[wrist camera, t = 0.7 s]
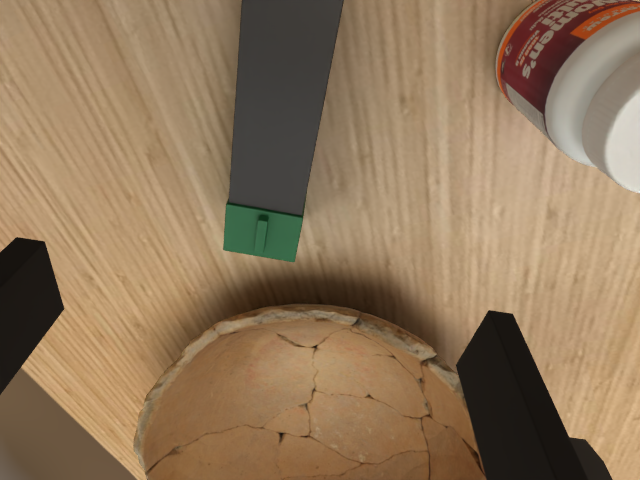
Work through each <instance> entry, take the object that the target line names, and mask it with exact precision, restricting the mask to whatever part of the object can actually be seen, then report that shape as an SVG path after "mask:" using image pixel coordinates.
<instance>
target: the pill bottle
mask: <svg viewBox="0 0 640 480" xmlns="http://www.w3.org/2000/svg"><path fill="white" fill-rule="evenodd" d="M495 69H496V78H497V82H498V85H499V87H500V89H501V91H502V93H503V94H504V96H505V97H506V98H507V99H508V100H509V101H510V102H511V103H512V104H513V105H514V106H515V107H516V108H517V109H518V110H519V111H520V112H521V113H522V114H523V115H524V116H525V117H526V118H527V119H528V120H529V121H530V122H532V123H533V124H534V125H535V126H536V127H537V128H538V129H539V130H540V131H541V132H542V133H543V134H544V135H545V136H546V137H547V138H548V139H549V140H550V141H551V142H552V143H553V144H554V145H555V146H556V147H557V148H558V149H559V150H560V151H562V152H563V153H564V154H565V155H567V156H568V157H570V158H571V159H573V160H575V161H577V162H579V163H582V164H584V165H588V166H592V167H597V168H598V169H599V170H600V171H602V172H603V173H605V174H606V175H607V176H608V177H610V178H611V179H612V180H613V181H615V182H616V183H617V184H618V185H620V186H622V187H624V188H625V189H627V190H630V191H633V192H637V193H640V2H637V1H633V0H537V1H536V2H534V3H533V4H531V5H530V6H529V7H527V8H526V9H525V10H524V11H523V12H522V13H521V14H520V15H519V16H518V17H517V18H516V19H515V20H514V21H513V23H512V24H511V25H510V27H509V28H508V30H507V31H506V33H505V35H504V36H503V38H502V40H501V42H500V45H499V48H498V52H497V57H496V66H495Z"/></svg>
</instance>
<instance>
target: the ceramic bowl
mask: <svg viewBox="0 0 640 480" xmlns="http://www.w3.org/2000/svg"><path fill="white" fill-rule="evenodd" d="M133 447H134V452H135V453H136V454H137V455H138V459H139V463H140V465H141V466H142V468H143V469H144V470H145V474H146V478H147V480H486V476H485V472H484V468H483V465H482V461H481V457H480V454H479V450H478V446H477V442H476V439H475V435H474V431H473V427H472V424H471V420H470V416H469V412H468V409H467V405H466V401H465V398H464V394H463V390H462V386H461V383H460V379H459V377H458V375H457V374H456V373H455V372H454V371H453V370H452V369H451V368H450V367H449V366H448V365H447V364H446V363H445V362H444V360H443V359H442V358H440V357H439V356H438V355H437V353H436V352H435V351H434V350H433V348H432V347H431V346H430V345H428V344H427V343H426V342H424V341H423V340H422V339H420V338H419V337H417V336H415V335H414V334H412V333H410V332H408V331H406V330H405V329H403V328H401V327H399V326H397V325H395V324H393V323H391V322H389V321H386V320H384V319H382V318H379V317H376V316H373V315H370V314H367V313H362V312H360V311H358V310H354V309H351V308H347V307H339V306H332V305H321V304H288V305H281V306H269V307H264V308H260V309H257V310H253V311H249V312H245V313H242V314H239V315H235V316H232V317H230V318H227V319H224V320H222V321H220V322H218V323H216V324H214V325H213V326H211V327H210V328H209V329H207V330H206V331H205V332H203V333H201V334H200V335H198V336H197V337H195V338H194V339H192V341H191V342H190V343H189V345H188V346H187V347H186V348H185V349H184V350H183V352H182V354H181V356H180V357H179V359H178V360H177V361H176V362H175V363H173V364H172V365H171V366H170V367H169V368H168V369H167V370H166V371H165V372H164V373H163V375H162V376H161V377H160V378H159V380H158V381H157V383H156V384H155V385H154V387H153V388H152V389H151V391H150V392H149V393H148V394H147V396H146V399H145V402H144V408H143V409H142V410H141V411H140V413H139V418H138V423H137V429H136V434H135V437H134V445H133Z"/></svg>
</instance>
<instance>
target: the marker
mask: <svg viewBox="0 0 640 480" xmlns="http://www.w3.org/2000/svg"><path fill="white" fill-rule="evenodd" d="M343 1H344V0H242V8H241V23H240V38H239V53H238V68H237V83H236V98H235V114H234V129H233V144H232V159H231V174H230V189H229V199H228V201H227V204H226V214H225V231H224V247H223V250H225V251H231V252H237V253H243V254H249V255H254V256H260V257H266V258H272V259H278V260H284V261H289V262H295V257H296V252H297V247H298V242H299V237H300V232H301V227H302V222H303V216H304V208H305V201H306V193H307V187H308V182H309V176H310V171H311V166H312V161H313V156H314V151H315V146H316V140H317V135H318V130H319V125H320V120H321V115H322V109H323V104H324V99H325V94H326V89H327V84H328V79H329V73H330V68H331V63H332V58H333V53H334V48H335V43H336V37H337V32H338V27H339V22H340V17H341V12H342V6H343Z"/></svg>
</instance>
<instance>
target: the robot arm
mask: <svg viewBox="0 0 640 480" xmlns="http://www.w3.org/2000/svg"><path fill="white" fill-rule="evenodd" d="M63 310H64V306H63V303H62V299H61V296H60V292H59V289H58V285H57V282H56V279H55V275H54V272H53V268H52V265H51V261H50V258H49V255H48V251H47V248H46V244H45V242H44V241H38V240H31V239H25V238H18V237H16V238H15V239H14V240H13V241H12V242H11V243H10V244H9V245H8V246H7V247H6V248H5V249H3V250H2V251H1V252H0V394H1V393H2V392H3V390H4V389H5V388H6V386H7V385H8V384H9V382H10V381H11V379H12V378H13V377H14V375H15V374H16V373H17V372H18V370H19V369H20V368H21V366H22V365H23V364H24V362H25V361H26V360H27V358H28V357H29V356H30V354H31V353H32V351H33V350H34V349H35V347H36V346H37V345H38V343H39V342H40V341H41V339H42V338H43V337H44V335H45V334H46V333H47V331H48V330H49V329H50V327H51V326H52V325H53V323H54V322H55V321H56V319H57V318H58V317H59V315H60V314H61V313H62V311H63ZM456 368H457V371H458V375H459V379H460V383H461V386H462V390H463V394H464V398H465V401H466V405H467V409H468V412H469V416H470V420H471V424H472V427H473V431H474V435H475V439H476V442H477V446H478V450H479V454H480V457H481V461H482V465H483V468H484V472H485V476H486V480H612V478H611V476H610V474H609V472H608V470H607V468H606V466H605V464H604V462H603V460H602V459H601V458H600V457H599V456H598V454H597V453H596V452H595V451H594V450H593V448H592V447H591V446H590V445H589V444H588V442H587V441H586V440H584V439H577V438H570V437H569V436H568V434H567V432H566V430H565V427H564V425H563V423H562V421H561V419H560V416H559V414H558V412H557V410H556V408H555V405H554V403H553V401H552V399H551V397H550V394H549V392H548V390H547V388H546V386H545V383H544V381H543V379H542V377H541V375H540V372H539V370H538V368H537V366H536V364H535V362H534V359H533V357H532V355H531V353H530V351H529V348H528V346H527V344H526V342H525V340H524V337H523V335H522V333H521V331H520V329H519V326H518V324H517V322H516V320H515V318H514V315H513V314H510V313H503V312H497V311H490V310H489V311H488V313H487V314H486V316H485V318H484V319H483V321H482V323H481V324H480V326H479V328H478V329H477V331H476V333H475V334H474V336H473V338H472V339H471V341H470V343H469V344H468V346H467V348H466V349H465V351H464V353H463V354H462V356H461V358H460V359H459V361H458V363H457V364H456Z"/></svg>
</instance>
